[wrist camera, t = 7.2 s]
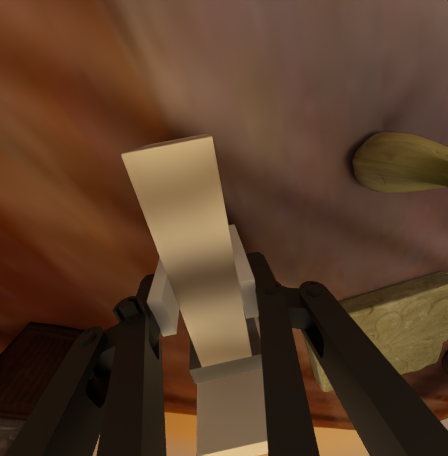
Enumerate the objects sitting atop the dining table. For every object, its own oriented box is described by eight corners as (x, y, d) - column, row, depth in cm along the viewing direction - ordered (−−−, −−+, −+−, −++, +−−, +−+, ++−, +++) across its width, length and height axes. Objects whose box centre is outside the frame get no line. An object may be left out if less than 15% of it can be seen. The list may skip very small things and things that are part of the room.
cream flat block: (258, 328, 29) (293, 448, 18) (202, 340, 29) (203, 468, 18) (256, 315, 28) (293, 435, 17) (197, 327, 27) (196, 456, 17)
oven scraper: (252, 318, 22) (266, 367, 17) (195, 330, 21) (195, 383, 17) (222, 130, 13) (234, 132, 9) (131, 148, 13) (97, 158, 9)
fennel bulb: (407, 156, 20) (646, 190, 9) (368, 197, 22) (534, 266, 11) (374, 116, 18) (625, 102, 7) (332, 164, 20) (493, 209, 9)
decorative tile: (297, 309, 29) (309, 332, 26) (440, 266, 28) (471, 284, 25) (311, 379, 37) (321, 402, 34) (421, 347, 36) (443, 368, 33)
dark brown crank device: (106, 383, 31) (4, 667, 15) (19, 372, 28) (-233, 715, 11) (136, 312, 25) (24, 640, 9) (31, 287, 22) (-418, 717, 6)
